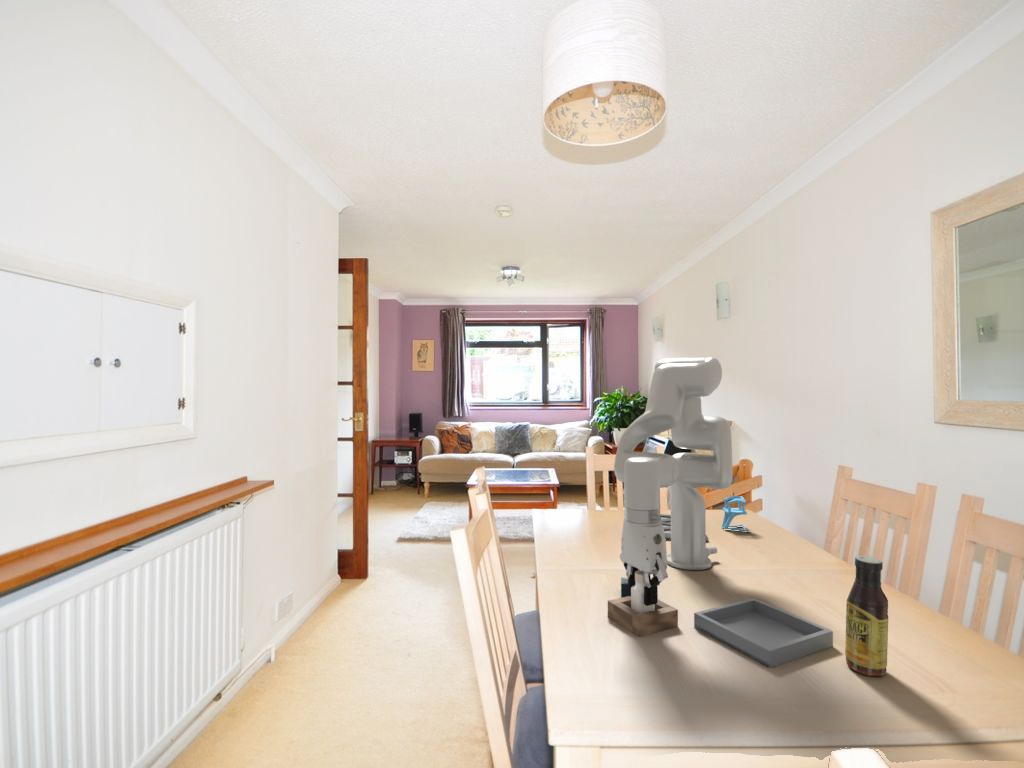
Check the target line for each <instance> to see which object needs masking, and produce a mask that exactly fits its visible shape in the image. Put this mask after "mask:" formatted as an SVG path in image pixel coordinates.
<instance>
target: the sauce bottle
mask: <svg viewBox="0 0 1024 768" xmlns="http://www.w3.org/2000/svg"><path fill="white" fill-rule="evenodd" d="M854 566H855V577H854V582H853V584H852V587H851V589H850V592H849V593H848V596H847V599H846V610H845V615H846V616H845V640H844V641H845V643H844V645H845V648H844V653H845V661H846V664H847V666H848V668H850V670H853V671H855V672H857V673H859V674H861V675H862V676H870V677H883V676H884V675H885V674H886V673H887V667H888V643H889V642H888V641H889V636H888V635H889V615H888V614H889V613H888V612H889V610H888V609H889V600H888V597H887V596H886V594H885V593H884V590H883V588H882V581H881V579H882V570H883V561H882V560H881V559H878V558H877V557H873V556H868V555H856V556H855V557H854Z"/></svg>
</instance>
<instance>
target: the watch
mask: <svg viewBox="0 0 1024 768" xmlns="http://www.w3.org/2000/svg"><path fill="white" fill-rule="evenodd" d="M628 578H629V577H627V576H626V577H620V580H621V581H620V598H622V597H627V596H629V595H628Z"/></svg>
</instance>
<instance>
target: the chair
mask: <svg viewBox="0 0 1024 768" xmlns="http://www.w3.org/2000/svg"><path fill="white" fill-rule="evenodd" d="M722 500H723V502H724V507H722V511H723V512H724V517H723V520H722V523H721V528H722V527H724V529H731V530H739V531H750V532H751V530H750V529H749V528H748V527H747V526H745V524H731V522H732V521H733V519H734V518H735V517H737V516H741V515H748V511H746V510H745V507H746V502H747V500H746V498H744V497H743V496H742V495H740V496H739V495H731V496H728V497H726V498H723V499H722ZM735 503H737V507H731V504H735ZM741 505H742V506H741ZM737 526H743V527H744V528H745V529H746V530H745V529H744V528H728V527H737Z"/></svg>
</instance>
